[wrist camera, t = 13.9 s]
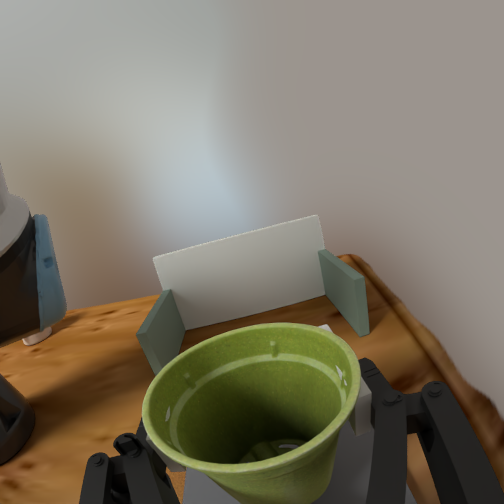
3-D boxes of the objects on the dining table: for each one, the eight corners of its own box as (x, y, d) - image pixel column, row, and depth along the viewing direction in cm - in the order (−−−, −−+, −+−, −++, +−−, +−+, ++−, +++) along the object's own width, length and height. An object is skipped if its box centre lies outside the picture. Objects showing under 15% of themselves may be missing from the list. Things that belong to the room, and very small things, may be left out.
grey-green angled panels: (369, 333, 29) (357, 229, 26) (160, 385, 29) (118, 291, 26) (330, 289, 44) (316, 214, 41) (179, 328, 43) (154, 256, 41)
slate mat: (425, 531, 7) (429, 527, 7) (183, 580, 7) (176, 577, 6) (356, 400, 20) (356, 392, 20) (195, 437, 20) (191, 430, 20)
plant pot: (363, 419, 16) (357, 312, 14) (352, 543, 7) (357, 478, 5) (236, 421, 19) (198, 327, 17) (185, 520, 10) (101, 436, 8)
